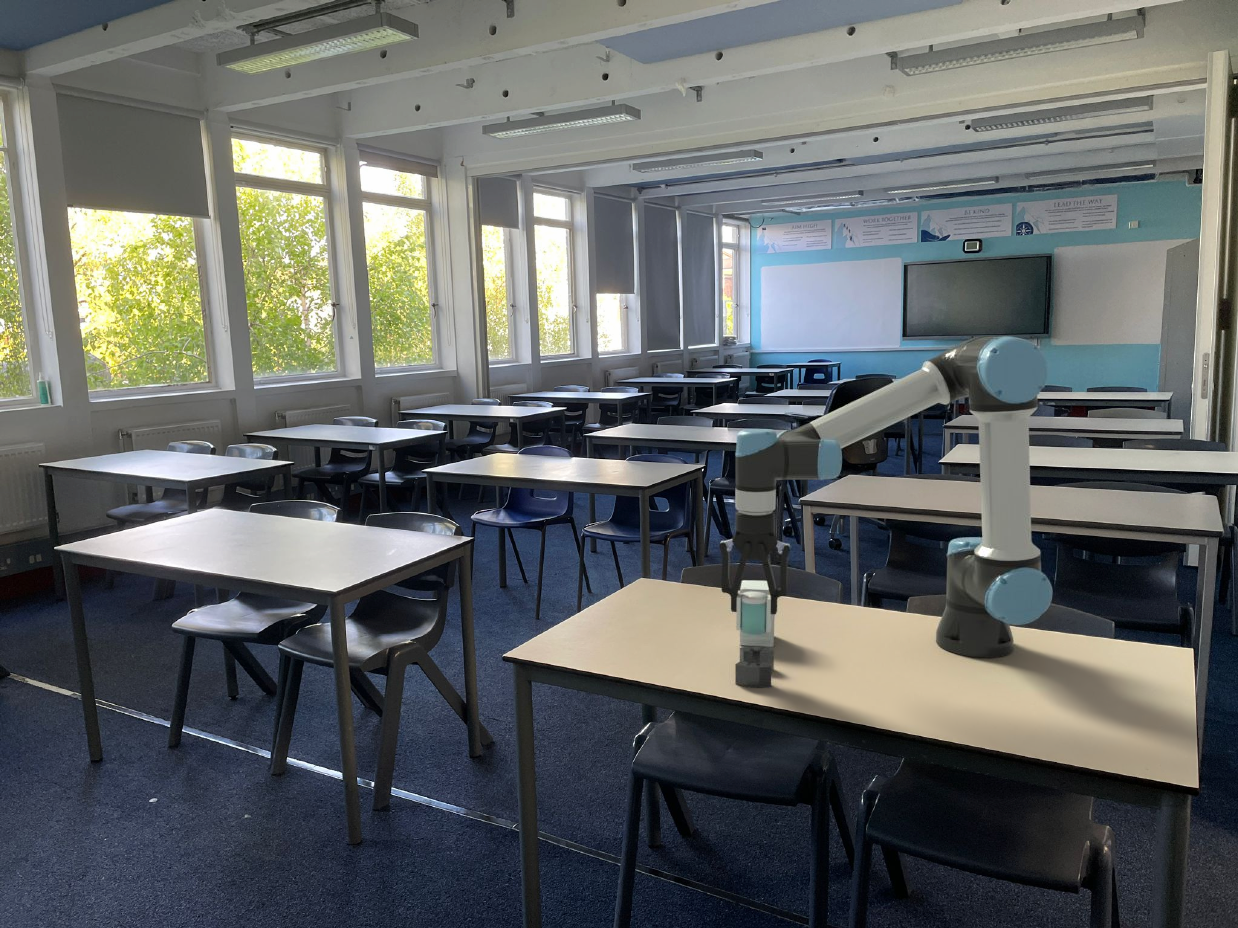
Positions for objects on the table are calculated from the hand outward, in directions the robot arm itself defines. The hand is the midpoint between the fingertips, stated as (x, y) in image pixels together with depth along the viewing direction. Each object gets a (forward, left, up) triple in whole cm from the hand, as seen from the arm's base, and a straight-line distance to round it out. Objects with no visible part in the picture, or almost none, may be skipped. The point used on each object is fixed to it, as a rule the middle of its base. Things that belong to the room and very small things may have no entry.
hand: (753, 628), depth 167 cm
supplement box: (+1, -20, -10) cm, 22 cm away
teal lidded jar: (0, 0, 0) cm, 0 cm away
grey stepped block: (0, 0, -10) cm, 10 cm away
